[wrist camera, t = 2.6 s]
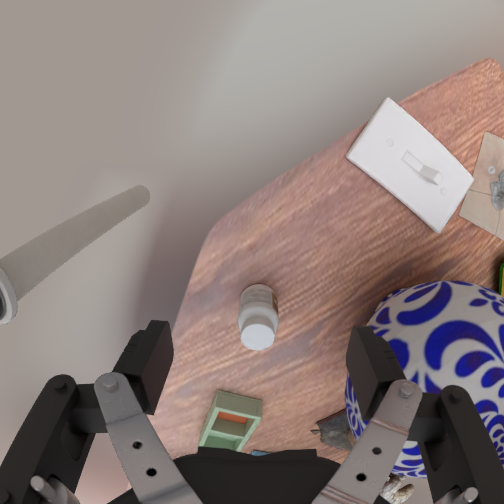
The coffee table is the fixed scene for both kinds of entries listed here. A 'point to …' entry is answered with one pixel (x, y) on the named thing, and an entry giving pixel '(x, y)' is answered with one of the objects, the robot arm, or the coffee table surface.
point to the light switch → (411, 164)
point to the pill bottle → (258, 317)
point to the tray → (230, 421)
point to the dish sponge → (501, 281)
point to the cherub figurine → (343, 438)
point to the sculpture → (487, 188)
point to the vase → (443, 353)
